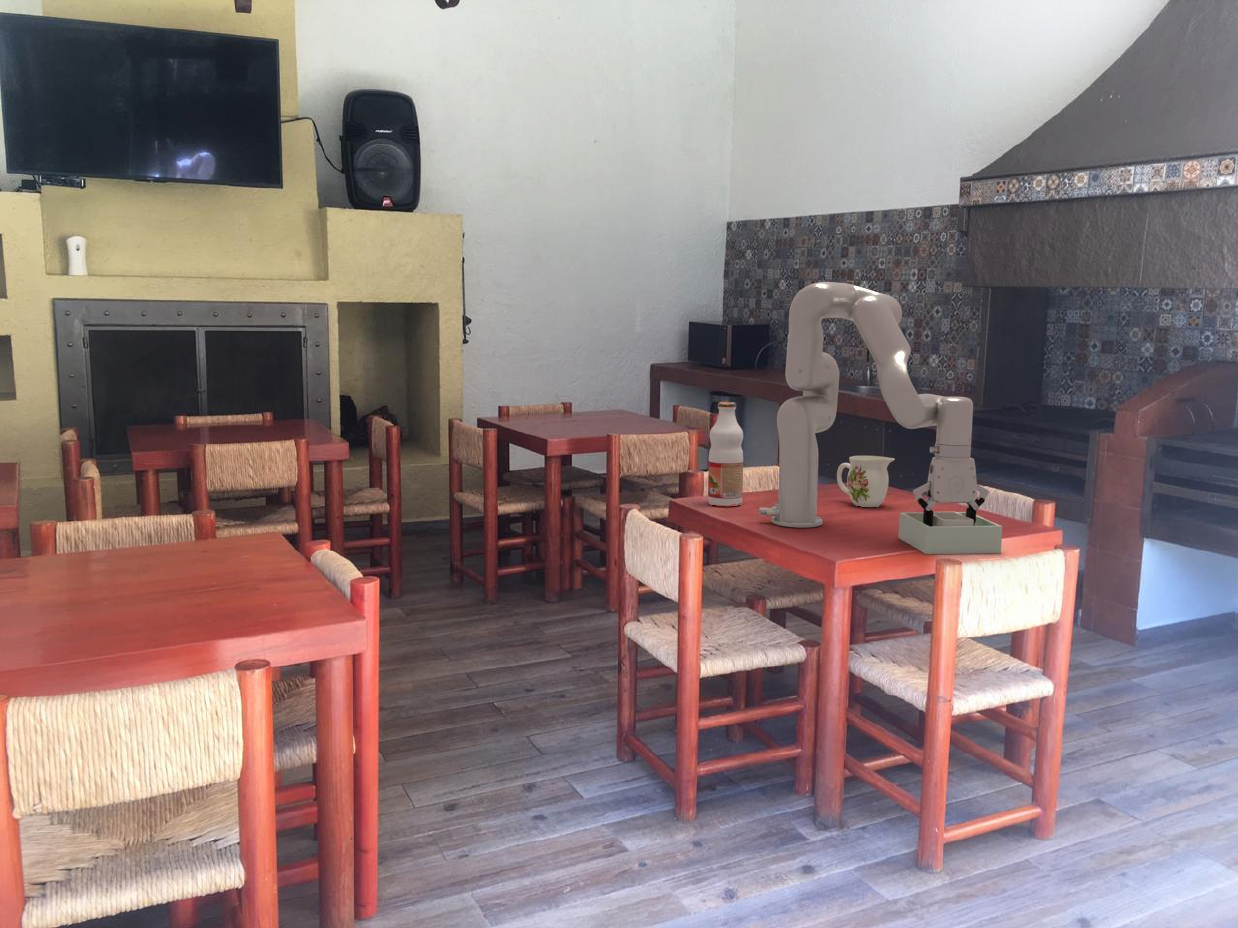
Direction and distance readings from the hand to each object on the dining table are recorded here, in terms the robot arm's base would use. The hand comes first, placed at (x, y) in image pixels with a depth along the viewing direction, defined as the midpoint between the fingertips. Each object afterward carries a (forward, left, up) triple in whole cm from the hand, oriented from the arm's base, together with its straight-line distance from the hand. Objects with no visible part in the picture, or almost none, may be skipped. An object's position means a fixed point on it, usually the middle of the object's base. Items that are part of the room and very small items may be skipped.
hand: (949, 526), depth 241 cm
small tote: (0, 0, -4) cm, 4 cm away
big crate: (0, 0, -4) cm, 4 cm away
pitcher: (-3, +51, -4) cm, 51 cm away
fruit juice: (-41, +54, -4) cm, 68 cm away
